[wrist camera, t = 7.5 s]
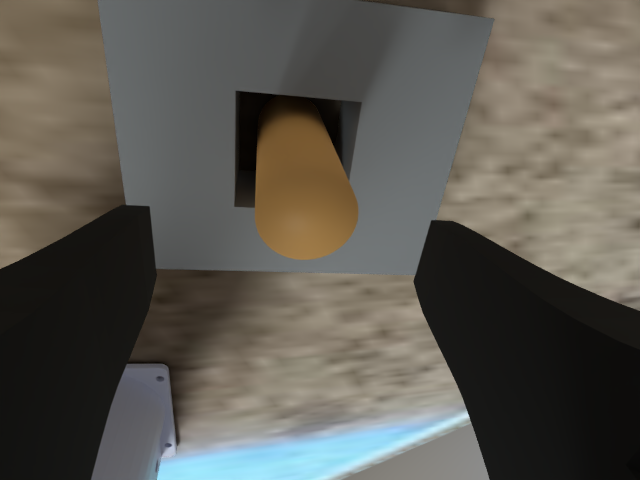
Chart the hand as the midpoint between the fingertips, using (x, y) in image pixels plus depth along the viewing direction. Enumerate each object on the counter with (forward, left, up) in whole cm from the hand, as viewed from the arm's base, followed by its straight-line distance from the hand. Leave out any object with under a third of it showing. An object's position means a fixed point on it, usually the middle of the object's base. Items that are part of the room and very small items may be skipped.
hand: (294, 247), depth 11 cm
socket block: (0, 0, -10) cm, 10 cm away
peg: (0, 0, -10) cm, 10 cm away
